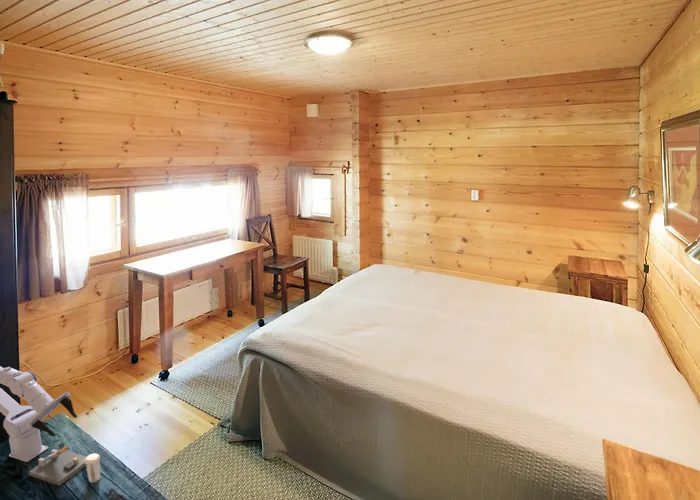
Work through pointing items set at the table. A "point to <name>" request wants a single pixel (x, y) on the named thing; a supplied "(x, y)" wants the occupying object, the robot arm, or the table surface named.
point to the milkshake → (93, 467)
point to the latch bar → (57, 453)
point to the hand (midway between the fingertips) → (65, 426)
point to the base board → (58, 467)
